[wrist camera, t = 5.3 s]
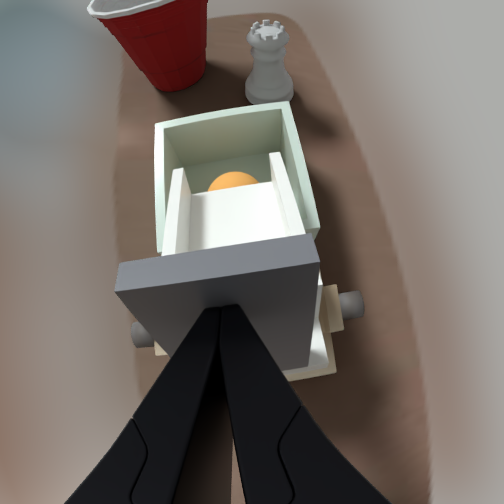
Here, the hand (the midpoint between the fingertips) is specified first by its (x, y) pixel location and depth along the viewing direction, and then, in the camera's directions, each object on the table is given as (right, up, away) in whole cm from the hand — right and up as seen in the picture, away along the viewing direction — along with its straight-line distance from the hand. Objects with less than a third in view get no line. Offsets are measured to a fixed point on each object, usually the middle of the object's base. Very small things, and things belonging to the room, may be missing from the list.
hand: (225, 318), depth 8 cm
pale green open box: (0, +5, +16) cm, 17 cm away
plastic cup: (-7, +20, +21) cm, 30 cm away
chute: (0, +1, +8) cm, 8 cm away
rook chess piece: (+2, +16, +19) cm, 25 cm away
